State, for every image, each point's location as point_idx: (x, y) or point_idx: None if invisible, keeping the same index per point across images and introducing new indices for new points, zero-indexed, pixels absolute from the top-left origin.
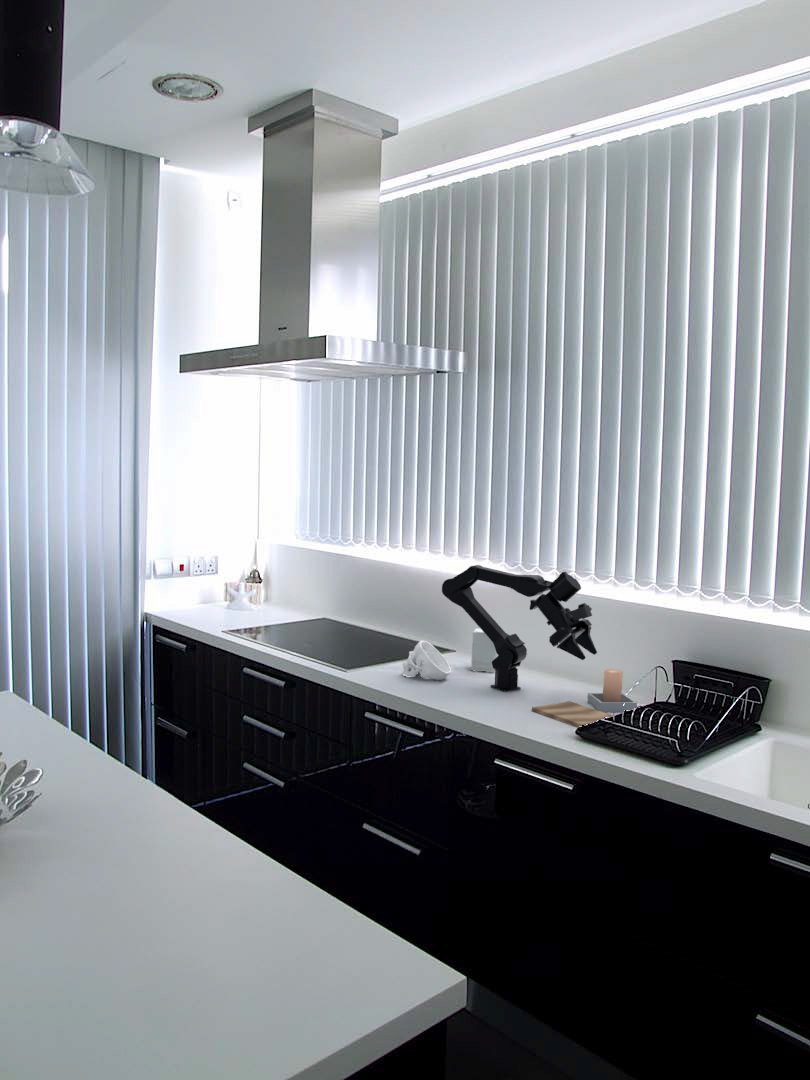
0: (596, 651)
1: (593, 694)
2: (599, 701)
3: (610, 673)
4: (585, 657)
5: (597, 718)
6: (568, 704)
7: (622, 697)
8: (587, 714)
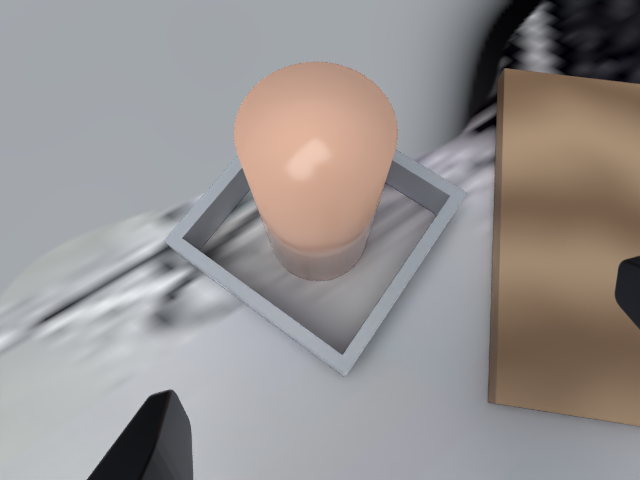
0: (157, 399)
1: (325, 344)
2: (453, 209)
3: (390, 115)
4: (627, 260)
5: (618, 109)
6: (562, 356)
7: (197, 231)
8: (613, 173)
